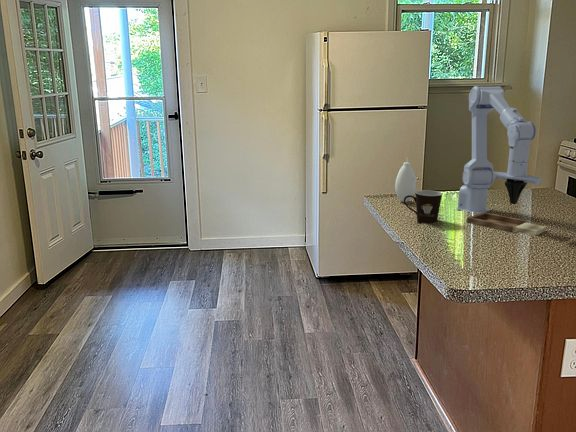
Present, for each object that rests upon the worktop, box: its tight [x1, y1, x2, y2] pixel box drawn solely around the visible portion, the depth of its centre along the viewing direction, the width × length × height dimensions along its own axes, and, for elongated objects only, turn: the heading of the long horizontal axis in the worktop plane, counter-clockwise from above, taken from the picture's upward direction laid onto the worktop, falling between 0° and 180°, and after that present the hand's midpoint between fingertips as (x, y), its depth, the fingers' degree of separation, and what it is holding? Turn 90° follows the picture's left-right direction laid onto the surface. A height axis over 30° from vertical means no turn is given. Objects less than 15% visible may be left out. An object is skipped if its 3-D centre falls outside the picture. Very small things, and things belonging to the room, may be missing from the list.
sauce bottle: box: [394, 155, 417, 203], centre depth 208 cm, size 8×8×18 cm
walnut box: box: [466, 211, 528, 233], centre depth 177 cm, size 15×11×2 cm
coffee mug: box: [403, 189, 443, 224], centre depth 181 cm, size 12×9×10 cm
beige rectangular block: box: [514, 222, 547, 237], centre depth 169 cm, size 6×8×2 cm
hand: (513, 203), depth 172 cm, fingers closed
